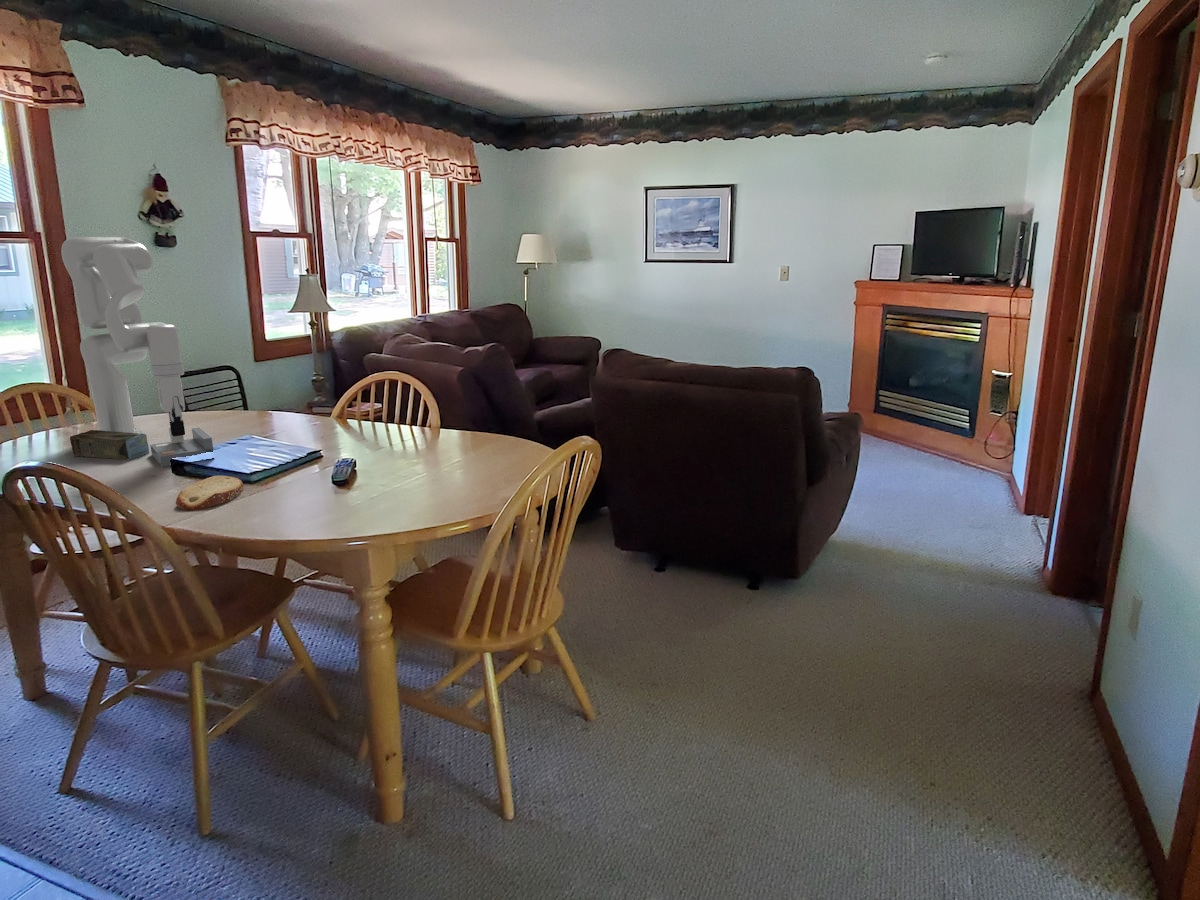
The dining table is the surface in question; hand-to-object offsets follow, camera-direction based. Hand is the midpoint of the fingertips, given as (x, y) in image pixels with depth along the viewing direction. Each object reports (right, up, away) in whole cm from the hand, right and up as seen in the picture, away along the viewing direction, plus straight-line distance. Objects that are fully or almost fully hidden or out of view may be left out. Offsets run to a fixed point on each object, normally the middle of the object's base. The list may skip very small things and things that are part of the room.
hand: (178, 435), depth 220 cm
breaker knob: (-2, -2, +3) cm, 4 cm away
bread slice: (+26, -15, -34) cm, 45 cm away
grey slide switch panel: (+1, -6, 0) cm, 6 cm away
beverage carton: (-21, -6, +3) cm, 22 cm away
